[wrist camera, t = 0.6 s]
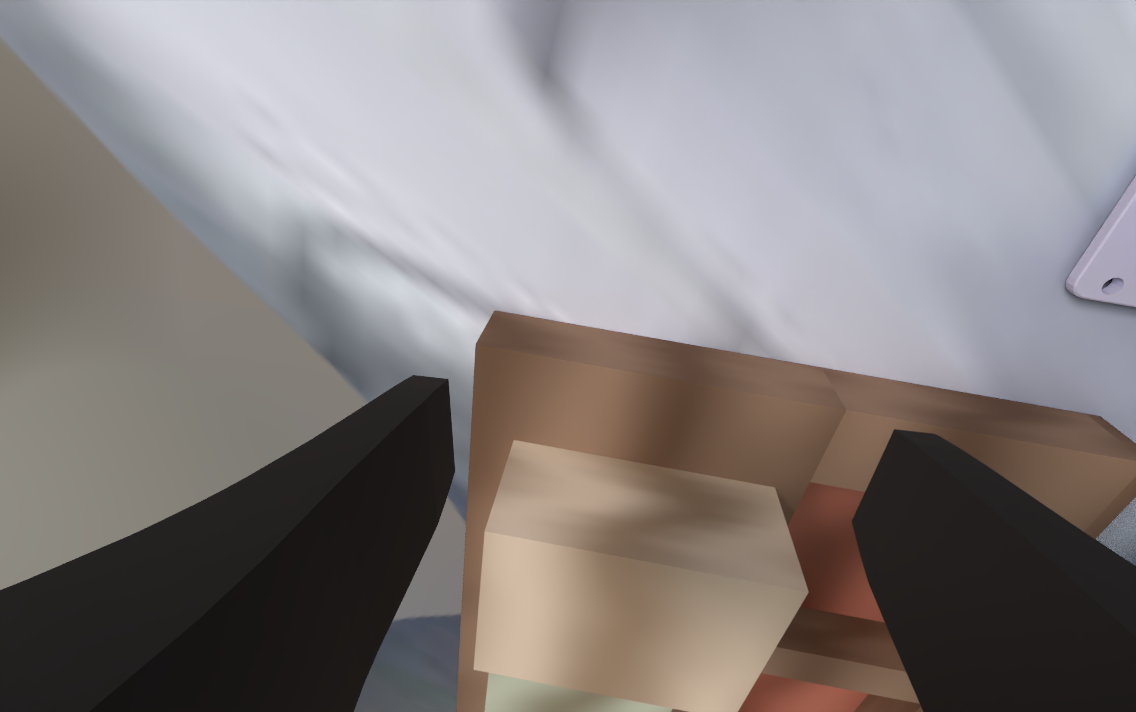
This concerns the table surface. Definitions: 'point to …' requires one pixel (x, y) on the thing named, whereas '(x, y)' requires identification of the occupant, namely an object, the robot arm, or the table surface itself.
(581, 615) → the birch block
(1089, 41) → the table surface
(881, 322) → the table surface
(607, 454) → the trap deck
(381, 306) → the table surface
